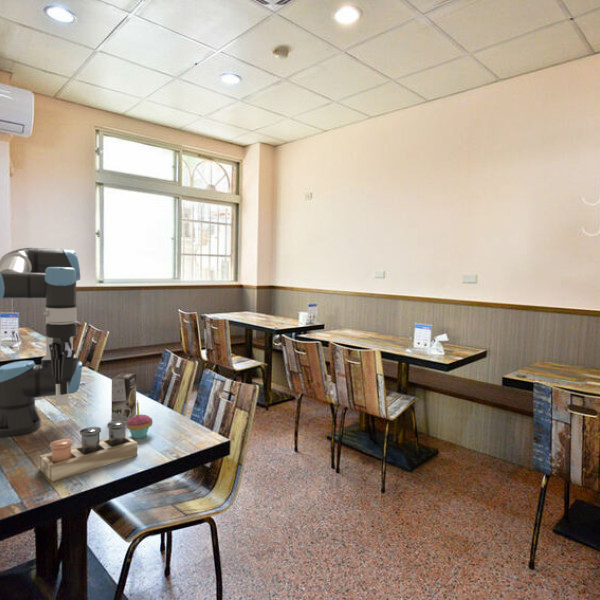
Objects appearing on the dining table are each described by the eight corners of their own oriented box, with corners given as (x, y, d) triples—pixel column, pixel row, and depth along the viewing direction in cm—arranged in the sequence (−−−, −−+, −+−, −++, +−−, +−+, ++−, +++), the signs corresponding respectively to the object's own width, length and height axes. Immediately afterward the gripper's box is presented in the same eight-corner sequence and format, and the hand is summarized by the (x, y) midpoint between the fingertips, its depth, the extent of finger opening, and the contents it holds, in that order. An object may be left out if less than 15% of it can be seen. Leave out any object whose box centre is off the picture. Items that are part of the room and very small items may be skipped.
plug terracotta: (47, 465, 121) (47, 442, 121) (68, 459, 125) (68, 437, 125) (54, 472, 117) (54, 448, 117) (75, 465, 122) (75, 443, 121)
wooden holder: (40, 469, 122) (39, 455, 122) (122, 445, 140) (122, 433, 139) (52, 481, 115) (52, 467, 115) (137, 455, 133) (137, 442, 133)
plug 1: (77, 451, 127) (76, 430, 126) (96, 446, 131) (96, 425, 131) (84, 457, 123) (84, 435, 123) (104, 451, 127) (104, 430, 127)
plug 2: (104, 444, 133) (104, 423, 132) (121, 439, 137) (121, 419, 137) (112, 449, 129) (112, 428, 129) (130, 444, 133) (130, 423, 133)
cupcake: (122, 434, 148) (122, 401, 147) (145, 429, 154) (146, 396, 153) (132, 442, 142) (132, 407, 141) (156, 436, 148) (157, 402, 147)
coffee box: (127, 420, 162) (127, 378, 161) (110, 420, 162) (110, 378, 161) (136, 412, 171) (137, 372, 170) (120, 412, 171) (120, 372, 170)
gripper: (38, 320, 121) (39, 401, 123) (54, 326, 112) (55, 413, 114) (67, 318, 127) (67, 396, 129) (84, 324, 118) (85, 407, 120)
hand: (62, 404), depth 121 cm, fingers closed
